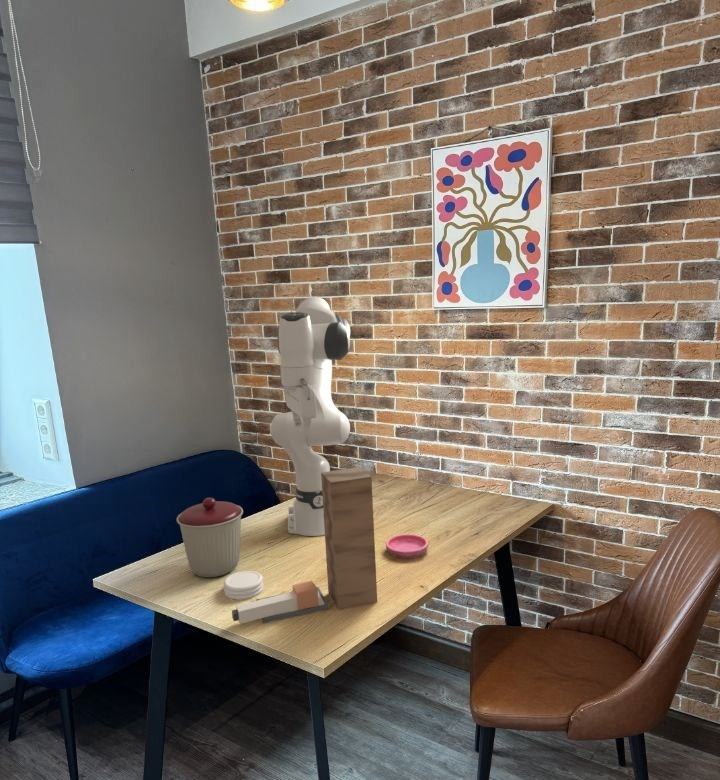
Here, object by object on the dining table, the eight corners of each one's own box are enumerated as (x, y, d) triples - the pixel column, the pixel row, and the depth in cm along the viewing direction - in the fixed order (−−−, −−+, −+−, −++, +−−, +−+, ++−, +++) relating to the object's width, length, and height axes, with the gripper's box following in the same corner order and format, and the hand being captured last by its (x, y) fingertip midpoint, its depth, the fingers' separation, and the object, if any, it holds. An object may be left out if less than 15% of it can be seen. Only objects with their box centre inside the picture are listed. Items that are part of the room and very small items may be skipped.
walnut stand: (328, 593, 151) (321, 472, 146) (365, 585, 154) (359, 466, 149) (338, 610, 143) (330, 482, 138) (377, 601, 146) (371, 476, 141)
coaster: (218, 590, 156) (217, 578, 156) (252, 578, 162) (251, 566, 161) (235, 605, 148) (233, 592, 148) (270, 591, 154) (269, 579, 153)
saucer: (406, 565, 165) (405, 555, 164) (377, 552, 175) (376, 542, 174) (437, 552, 173) (437, 542, 172) (408, 540, 182) (407, 530, 182)
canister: (259, 568, 168) (254, 496, 164) (201, 591, 156) (194, 515, 152) (227, 550, 181) (221, 483, 178) (171, 570, 169) (163, 499, 166)
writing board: (256, 603, 148) (256, 598, 148) (318, 590, 153) (318, 586, 153) (263, 623, 139) (262, 618, 139) (328, 608, 144) (328, 604, 143)
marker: (231, 617, 140) (230, 600, 139) (312, 597, 147) (311, 580, 147) (235, 626, 136) (233, 608, 135) (318, 605, 143) (317, 588, 143)
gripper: (321, 380, 142) (324, 436, 144) (301, 371, 161) (305, 421, 164) (295, 383, 140) (299, 439, 142) (278, 373, 160) (282, 424, 162)
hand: (302, 429), depth 153 cm, fingers open, 8 cm apart
